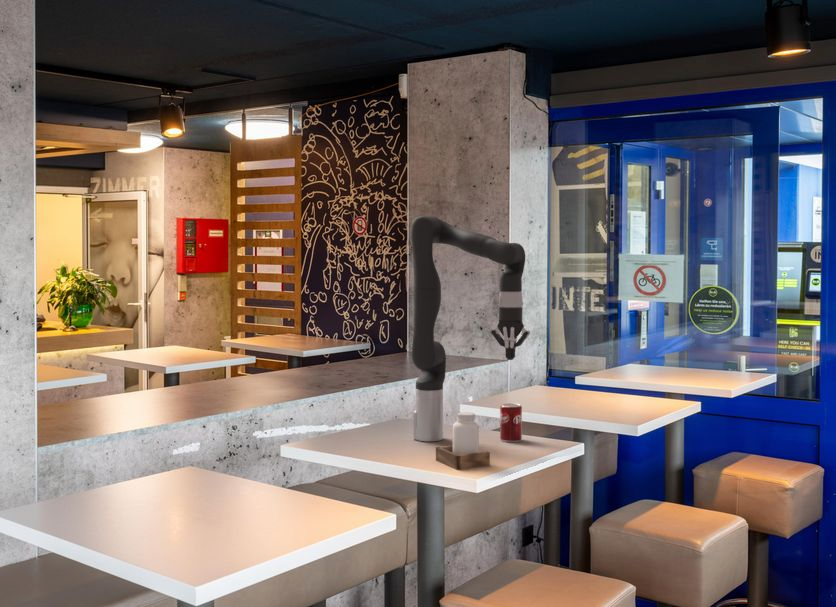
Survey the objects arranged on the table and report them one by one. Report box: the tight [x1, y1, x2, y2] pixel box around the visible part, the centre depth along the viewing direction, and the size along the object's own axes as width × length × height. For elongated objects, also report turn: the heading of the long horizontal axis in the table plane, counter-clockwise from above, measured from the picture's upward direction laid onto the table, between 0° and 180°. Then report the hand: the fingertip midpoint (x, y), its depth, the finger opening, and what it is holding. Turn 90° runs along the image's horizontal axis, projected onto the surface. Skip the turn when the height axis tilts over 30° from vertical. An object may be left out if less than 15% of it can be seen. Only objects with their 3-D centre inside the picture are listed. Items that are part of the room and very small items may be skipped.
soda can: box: [499, 403, 523, 443], centre depth 306 cm, size 7×7×12 cm
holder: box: [435, 444, 491, 471], centre depth 275 cm, size 11×13×4 cm
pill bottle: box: [452, 411, 480, 455], centre depth 275 cm, size 8×8×15 cm
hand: (510, 359), depth 291 cm, fingers closed
